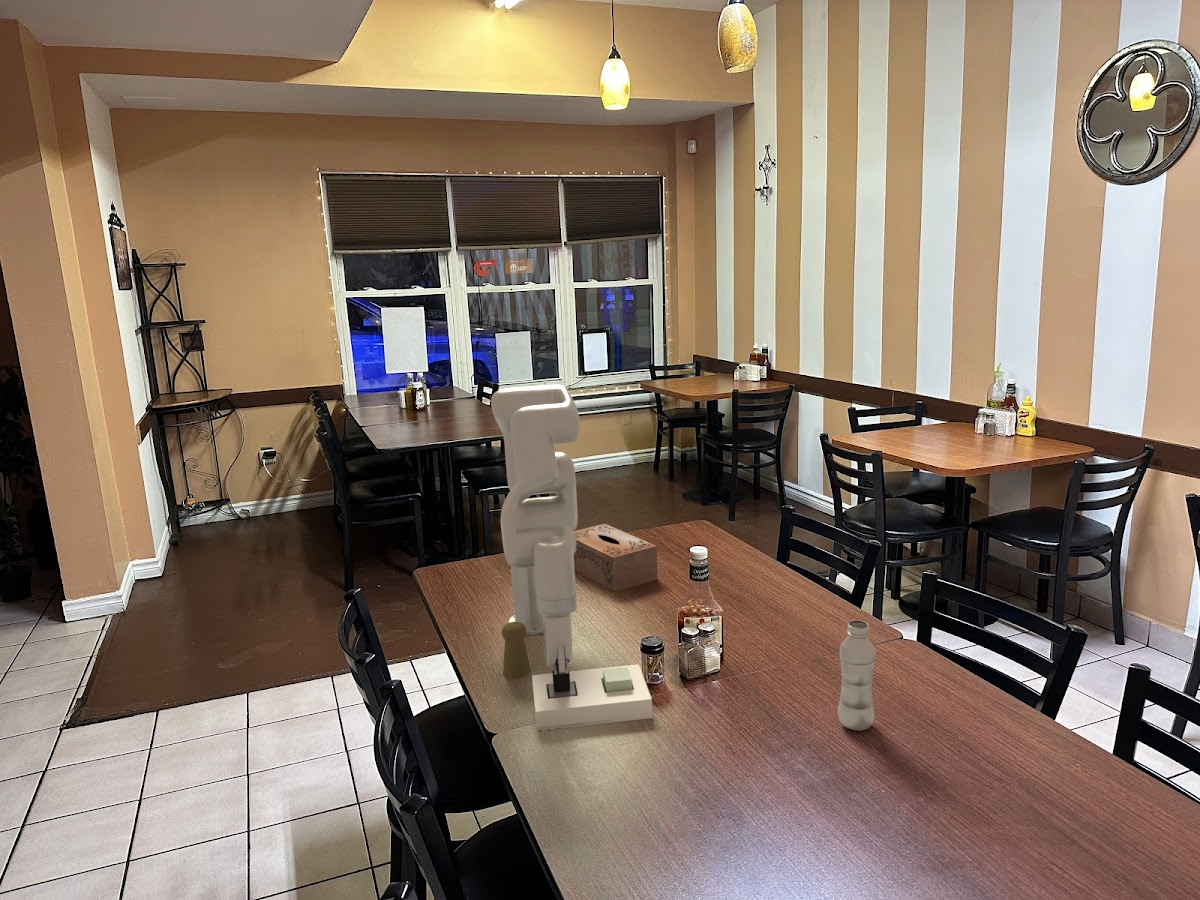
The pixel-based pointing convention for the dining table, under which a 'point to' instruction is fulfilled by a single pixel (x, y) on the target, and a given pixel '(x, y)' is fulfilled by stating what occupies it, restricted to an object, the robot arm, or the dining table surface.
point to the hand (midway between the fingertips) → (562, 689)
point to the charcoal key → (561, 694)
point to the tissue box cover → (614, 557)
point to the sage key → (617, 680)
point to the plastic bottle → (857, 678)
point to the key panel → (590, 700)
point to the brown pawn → (515, 651)
